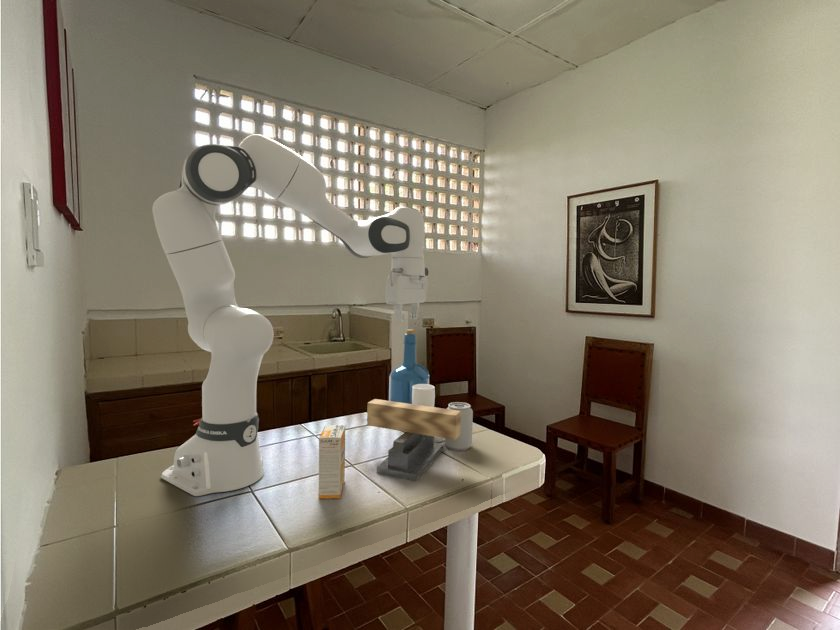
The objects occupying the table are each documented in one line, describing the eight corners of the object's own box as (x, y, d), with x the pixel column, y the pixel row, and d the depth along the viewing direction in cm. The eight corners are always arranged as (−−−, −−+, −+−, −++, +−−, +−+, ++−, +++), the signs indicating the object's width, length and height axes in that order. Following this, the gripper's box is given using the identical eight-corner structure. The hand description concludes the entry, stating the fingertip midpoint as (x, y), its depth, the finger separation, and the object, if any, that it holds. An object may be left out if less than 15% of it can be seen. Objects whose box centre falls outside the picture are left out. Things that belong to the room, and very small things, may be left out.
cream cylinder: (422, 430, 128) (424, 382, 126) (438, 436, 123) (439, 387, 121) (406, 435, 123) (407, 385, 122) (421, 442, 118) (423, 390, 117)
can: (471, 442, 119) (472, 401, 118) (472, 452, 111) (473, 409, 111) (445, 440, 120) (446, 400, 119) (444, 451, 112) (445, 407, 111)
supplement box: (341, 499, 86) (341, 437, 85) (317, 499, 86) (318, 437, 85) (345, 480, 94) (346, 424, 93) (324, 480, 94) (324, 424, 93)
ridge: (376, 472, 98) (377, 440, 98) (409, 443, 117) (410, 415, 116) (415, 481, 94) (416, 447, 94) (443, 449, 113) (444, 421, 112)
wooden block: (460, 434, 102) (460, 411, 102) (455, 440, 99) (456, 415, 98) (374, 420, 111) (374, 398, 111) (367, 425, 108) (367, 402, 107)
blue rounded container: (380, 420, 136) (382, 329, 134) (402, 410, 148) (403, 326, 145) (416, 428, 129) (418, 333, 127) (436, 417, 141) (438, 329, 139)
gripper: (402, 267, 101) (401, 323, 102) (431, 270, 120) (430, 318, 121) (379, 267, 103) (378, 322, 104) (411, 270, 122) (410, 317, 123)
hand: (406, 320), depth 113 cm, fingers open, 8 cm apart
